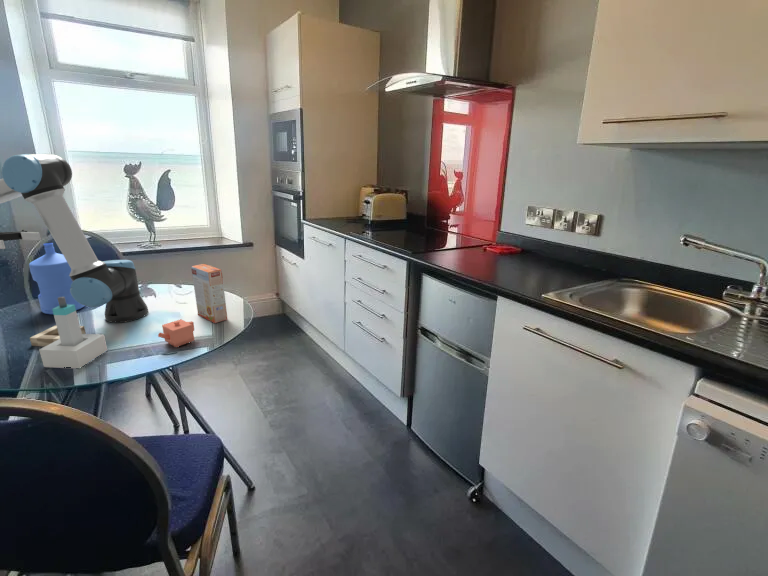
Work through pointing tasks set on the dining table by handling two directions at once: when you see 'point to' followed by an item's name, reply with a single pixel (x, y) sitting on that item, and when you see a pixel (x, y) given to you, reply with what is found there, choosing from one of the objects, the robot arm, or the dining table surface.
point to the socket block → (73, 352)
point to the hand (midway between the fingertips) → (22, 240)
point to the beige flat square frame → (48, 336)
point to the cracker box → (209, 292)
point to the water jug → (52, 279)
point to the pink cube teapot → (178, 332)
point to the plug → (67, 323)
